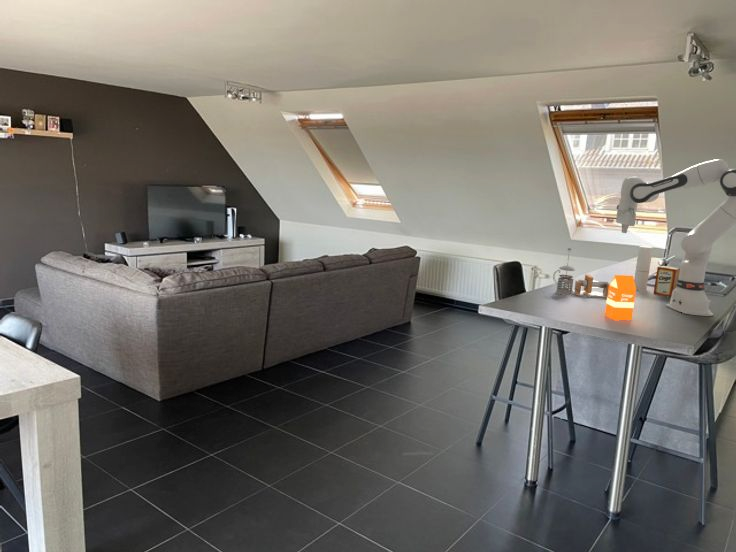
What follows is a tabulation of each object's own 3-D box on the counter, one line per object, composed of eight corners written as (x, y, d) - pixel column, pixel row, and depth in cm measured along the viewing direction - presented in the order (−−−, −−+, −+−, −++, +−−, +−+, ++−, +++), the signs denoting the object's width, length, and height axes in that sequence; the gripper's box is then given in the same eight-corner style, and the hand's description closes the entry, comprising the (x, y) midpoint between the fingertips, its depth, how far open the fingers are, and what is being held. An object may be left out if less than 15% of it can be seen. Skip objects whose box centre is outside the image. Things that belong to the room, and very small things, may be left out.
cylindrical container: (643, 288, 323) (649, 246, 318) (648, 290, 316) (655, 248, 311) (631, 287, 323) (637, 245, 319) (635, 289, 316) (642, 247, 312)
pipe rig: (613, 298, 289) (615, 284, 288) (576, 295, 292) (578, 281, 290) (607, 294, 300) (609, 280, 298) (571, 291, 302) (573, 277, 301)
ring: (591, 293, 291) (593, 277, 290) (587, 293, 292) (589, 277, 290) (587, 289, 300) (589, 274, 298) (583, 289, 300) (585, 274, 298)
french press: (570, 296, 289) (576, 250, 284) (548, 292, 296) (554, 247, 291) (575, 293, 297) (581, 248, 292) (554, 290, 304) (560, 245, 299)
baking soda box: (675, 296, 304) (680, 267, 301) (671, 297, 300) (675, 268, 297) (657, 292, 311) (662, 265, 308) (653, 293, 307) (657, 266, 304)
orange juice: (604, 315, 252) (610, 273, 248) (622, 316, 252) (628, 274, 248) (613, 320, 244) (619, 276, 240) (631, 321, 245) (638, 277, 241)
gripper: (640, 208, 281) (636, 235, 284) (627, 206, 301) (624, 231, 304) (627, 208, 282) (623, 234, 284) (615, 205, 302) (612, 230, 304)
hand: (624, 232), depth 294 cm, fingers closed
